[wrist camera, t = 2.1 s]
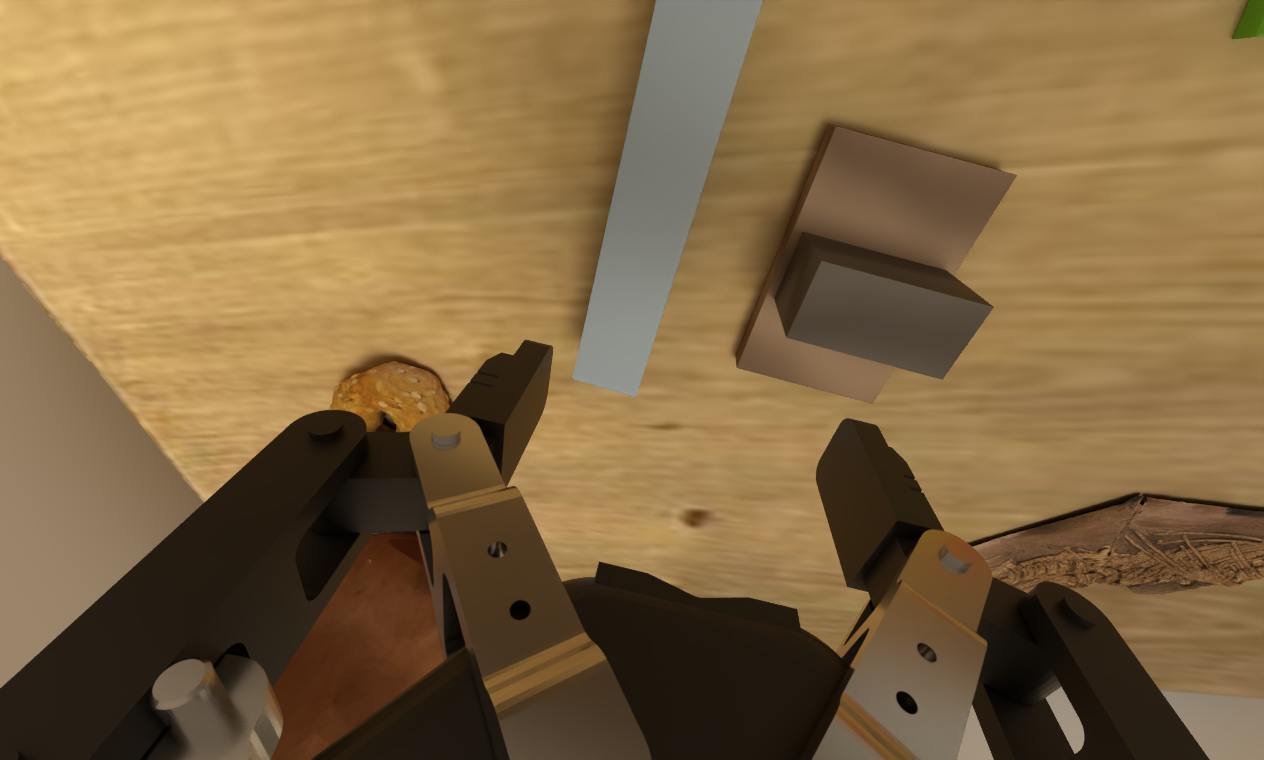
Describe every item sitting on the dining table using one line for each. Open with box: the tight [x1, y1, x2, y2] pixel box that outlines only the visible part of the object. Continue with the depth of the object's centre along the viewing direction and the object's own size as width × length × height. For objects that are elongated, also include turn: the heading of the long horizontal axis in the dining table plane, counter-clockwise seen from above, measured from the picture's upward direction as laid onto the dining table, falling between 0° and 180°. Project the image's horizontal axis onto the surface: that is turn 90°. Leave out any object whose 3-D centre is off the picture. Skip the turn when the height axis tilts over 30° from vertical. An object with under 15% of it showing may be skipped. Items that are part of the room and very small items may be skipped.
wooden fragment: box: [973, 496, 1264, 595], centre depth 35 cm, size 26×11×1 cm, turn 102°
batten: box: [573, 0, 763, 397], centre depth 25 cm, size 22×4×5 cm, turn 166°
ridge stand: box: [736, 124, 1017, 404], centre depth 25 cm, size 14×9×6 cm, turn 167°
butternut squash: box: [271, 532, 444, 760], centre depth 37 cm, size 14×13×25 cm
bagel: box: [329, 361, 450, 432], centre depth 36 cm, size 10×11×5 cm
